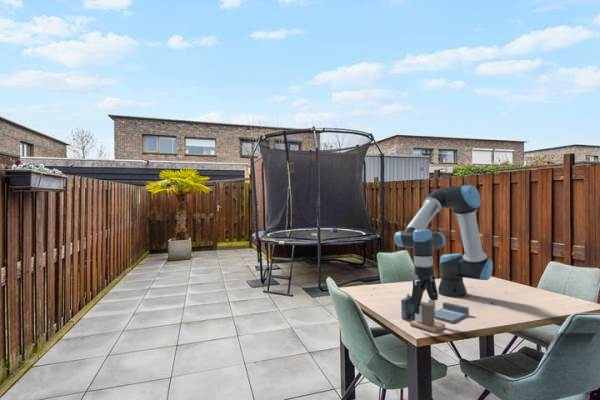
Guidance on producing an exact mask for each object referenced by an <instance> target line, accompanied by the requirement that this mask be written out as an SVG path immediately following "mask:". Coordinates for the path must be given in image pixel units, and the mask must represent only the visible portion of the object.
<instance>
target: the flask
mask: <svg viewBox="0 0 600 400" xmlns="http://www.w3.org/2000/svg"><path fill="white" fill-rule="evenodd" d="M411 297H412V295H411V294H410V293H406V297H404V298H401V299H400V302H401V303H400V305H401V308H400V309H401V319H402V320H408V318H409V319H412V318H415V308H414V305H412V304H411ZM411 317H412V318H411Z"/></svg>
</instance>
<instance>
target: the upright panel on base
mask: <svg viewBox="0 0 600 400" xmlns="http://www.w3.org/2000/svg"><path fill="white" fill-rule="evenodd" d="M420 306H421V307H422V322H418V321H415V319H414V320H411V321H409V326H412V327H414V326H415V328H418V327H419V328H418V329H421V328H422V330H424V329H425V330H424V331H427V330H428V332H430V331H432V332H431V333H434V332H435V333H437V332H439V331H440V329H441V330H442V329H444V328H446V323H442V322H439V321H435V319H434V304H430V303H429V302H426V301H421V304H420ZM438 330H439V331H438ZM436 331H437V332H436Z"/></svg>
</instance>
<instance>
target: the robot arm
mask: <svg viewBox="0 0 600 400" xmlns="http://www.w3.org/2000/svg"><path fill="white" fill-rule="evenodd" d="M479 192H480V191H479V190H478V189H477V188H476V187H475V186H474V185H455V186H444V187H439V188H438V189H436V190H434V191H433V192H431V193H430V194H429V195H428V196H427V197H426V198H425V199H424V200H423V203H422V206H421V207H420V209H419V210H418V212H417V213H416V214H415V216H414V217H413V218H412V219H411V220H410V222H409V223H408V225H407V226H406V228H405V229H404V230H403V231H402V230H401V231H399V230H398V231H397V232H395V234H394V237H393V239H394V243H395V244H394V245H396V246H397V247H401V248H409V249H410V248H411V249H413V263H414V267H413V268H414V269H413V270H414V272H413V273H414V275H416V276H417V277H416V278H417V279H413V280H412V290H411V296H412V297H411V304H412V305H414V308H415V317H414V320H415V321H418V322H422V307H421V306H420V304H421V302H422V299H423V295H424V292H425V291H426V292H427V295H428V297H429V298H428V303H430V304H434V316H436V311H437V310H436V309H437V308H436V306H437V305H436V301H438V299H439V295H441V296H445V297H452V298H463V297H464V298H465V297H467V296H468V291H467V287H466V286H465V282H464V278H466V279H472V280H479V281H489V280H490V279H491V276H492V274H493V269H494V262H493V260H492V259H491V258H488V255H487V254H486V253H485V252H483V247H482V242H481V240H482V239H481V236H480V231H479V226H478V220H477V215H476V212H477V211H478V208H479V207H480V206H481V194H480V193H479ZM444 209H452V213H453V214H454V215H456V217H457V222H458V225H459V231H460V236H461V242H462V244H463V245H462V246H463V250H464V254H462V253H447V254H442V255H440V257H439V258H440V259H439V265H440V266H439V267H440V268H439V269H440V281H439V284H438V288H437V284H436V277H435V276H434V267H433V265H434V259H433V257H434V256H433V255H434V253H433V251H434V250H439V249H441V248H444V246H445V245H446V243H447V239H446V237H445V235H444V234H443V233H442V232H439V231H433V232H432V230H431V229H426V228H427V227H428V226H429V224H430V222H431V221H432V219H433V218H434V216H436V214H437V213H439V212H441V210H444Z"/></svg>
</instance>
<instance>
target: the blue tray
mask: <svg viewBox="0 0 600 400" xmlns="http://www.w3.org/2000/svg"><path fill="white" fill-rule="evenodd" d="M469 310H470V308H469V307H468V306H465V305H459V304H455V303H452V302H451V303H450V302H446V301H444V302H443V303H442V308H439V309H437V310H436V316H434V318H435V319H434V320H438V319H439V321H443V322H445V321H446V323H449V322H450V324H455V323H457V322H458V321H460V320H462V319H465V318H466V317H468V316H470V311H469Z"/></svg>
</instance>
